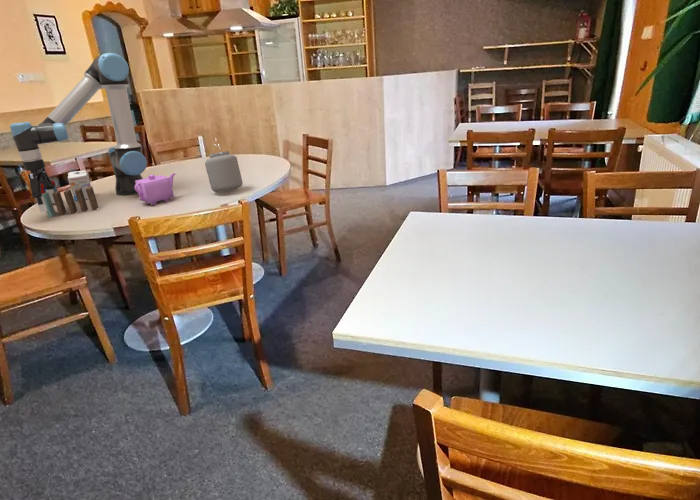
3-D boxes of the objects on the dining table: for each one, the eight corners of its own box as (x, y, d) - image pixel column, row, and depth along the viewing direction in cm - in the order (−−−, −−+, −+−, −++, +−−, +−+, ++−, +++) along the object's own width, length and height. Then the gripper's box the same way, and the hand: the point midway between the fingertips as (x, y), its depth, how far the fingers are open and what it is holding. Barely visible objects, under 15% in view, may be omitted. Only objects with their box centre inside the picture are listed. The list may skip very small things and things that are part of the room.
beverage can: (54, 205, 219) (45, 181, 214) (42, 206, 220) (33, 182, 216) (64, 201, 225) (56, 178, 221) (53, 202, 227) (45, 178, 222)
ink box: (74, 201, 224) (65, 174, 219) (75, 197, 231) (66, 172, 226) (93, 197, 228) (85, 171, 222) (93, 194, 235) (86, 169, 229)
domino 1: (55, 213, 205) (48, 192, 201) (52, 216, 201) (44, 194, 197) (51, 214, 205) (44, 192, 201) (48, 217, 200) (40, 195, 196)
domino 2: (66, 211, 206) (59, 190, 202) (63, 214, 202) (56, 193, 198) (62, 212, 206) (55, 191, 202) (59, 215, 201) (52, 193, 197)
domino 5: (98, 207, 209) (92, 186, 205) (96, 210, 205) (89, 188, 201) (95, 207, 209) (88, 186, 205) (92, 210, 204) (85, 189, 201)
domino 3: (77, 210, 207) (70, 189, 203) (74, 213, 203) (67, 191, 199) (73, 210, 207) (66, 189, 203) (70, 213, 202) (63, 192, 199)
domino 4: (88, 208, 208) (81, 187, 204) (85, 211, 204) (78, 190, 200) (84, 209, 208) (77, 188, 204) (81, 212, 203) (74, 190, 200)
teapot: (143, 208, 200) (136, 180, 195) (135, 204, 207) (128, 178, 202) (186, 197, 213) (180, 170, 208) (177, 194, 220) (171, 168, 215)
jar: (207, 190, 221) (196, 138, 212) (236, 184, 228) (227, 134, 218) (216, 198, 206) (205, 142, 196) (247, 191, 212) (238, 137, 203)
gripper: (32, 156, 203) (48, 201, 212) (11, 166, 181) (30, 216, 189) (51, 154, 205) (66, 199, 213) (32, 163, 183) (49, 213, 191)
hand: (49, 207), depth 201 cm, fingers open, 13 cm apart
